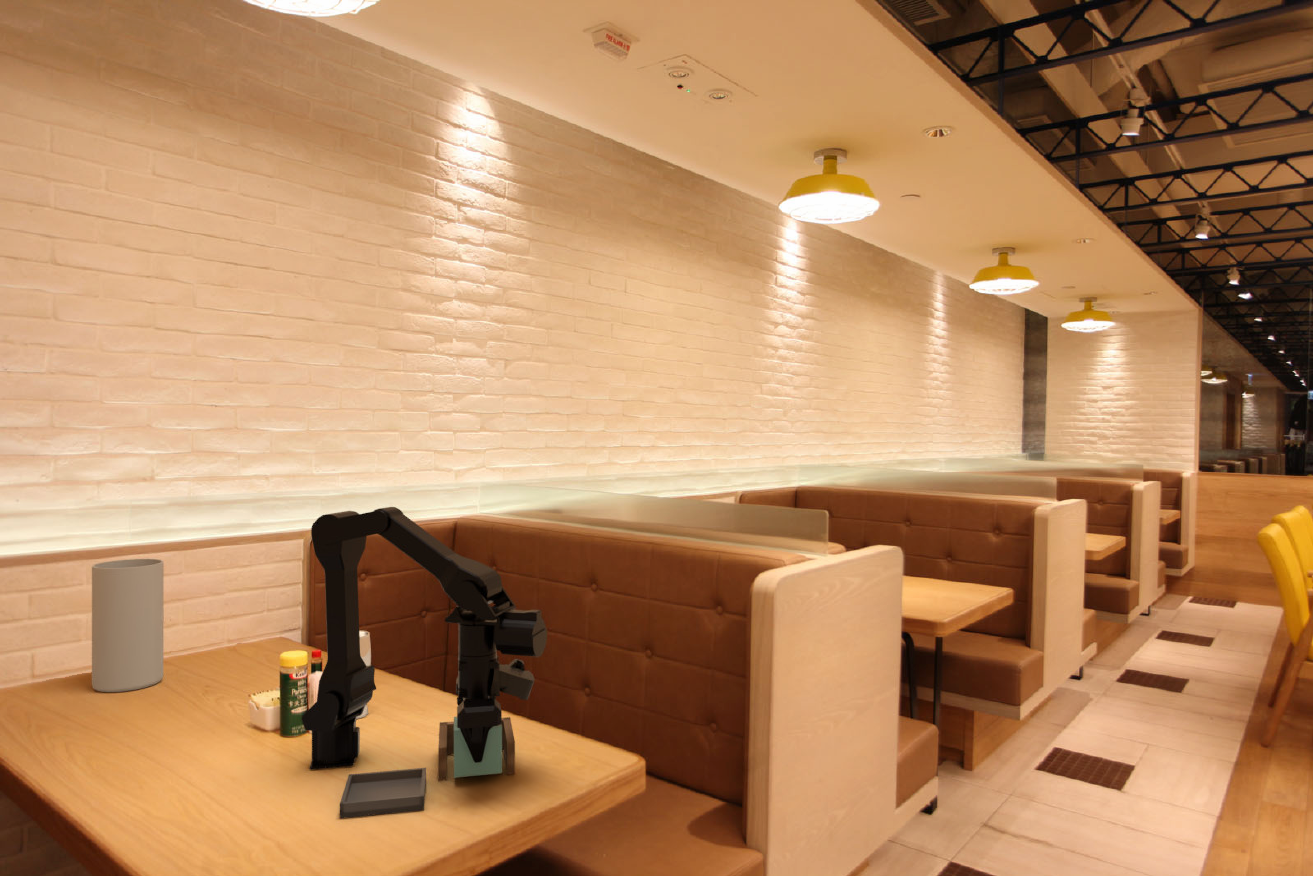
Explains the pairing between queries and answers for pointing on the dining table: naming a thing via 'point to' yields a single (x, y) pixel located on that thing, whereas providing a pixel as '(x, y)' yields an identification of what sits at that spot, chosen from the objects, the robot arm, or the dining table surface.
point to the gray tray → (383, 793)
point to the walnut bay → (448, 746)
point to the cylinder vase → (127, 624)
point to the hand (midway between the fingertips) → (477, 754)
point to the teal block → (491, 755)
